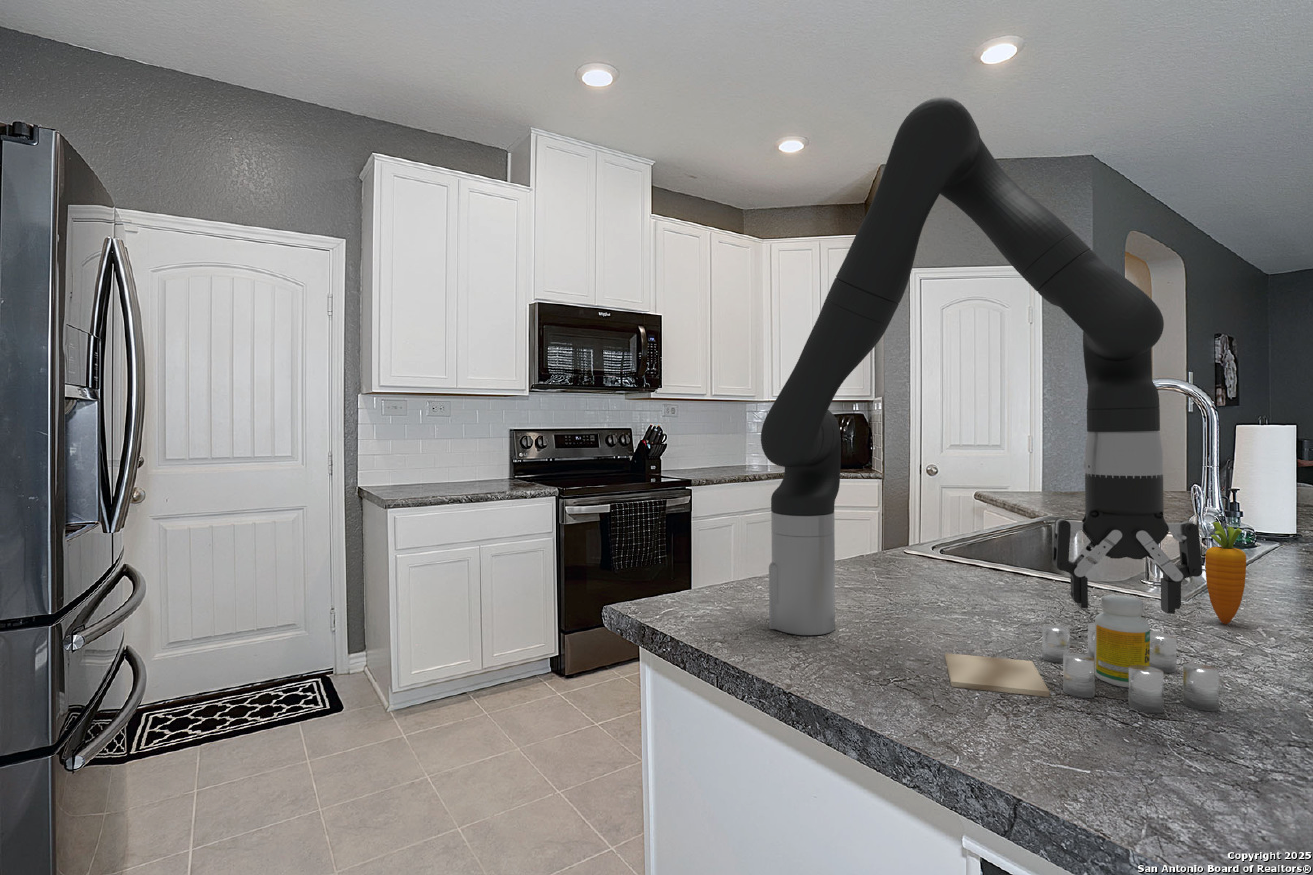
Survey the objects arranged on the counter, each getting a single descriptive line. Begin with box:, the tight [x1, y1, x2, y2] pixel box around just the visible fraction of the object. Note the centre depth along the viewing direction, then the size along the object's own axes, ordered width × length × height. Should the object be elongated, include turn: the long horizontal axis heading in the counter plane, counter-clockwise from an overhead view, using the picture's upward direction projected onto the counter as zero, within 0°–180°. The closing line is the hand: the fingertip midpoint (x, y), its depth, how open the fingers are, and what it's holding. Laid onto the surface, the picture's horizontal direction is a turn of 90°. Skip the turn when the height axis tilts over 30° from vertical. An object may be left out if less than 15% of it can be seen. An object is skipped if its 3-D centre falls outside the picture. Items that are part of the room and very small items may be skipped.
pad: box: [944, 652, 1051, 698], centre depth 81 cm, size 10×10×1 cm
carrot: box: [1204, 521, 1247, 626], centre depth 100 cm, size 5×5×15 cm
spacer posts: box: [1041, 622, 1220, 714], centre depth 80 cm, size 14×19×4 cm
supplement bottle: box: [1094, 594, 1151, 689], centre depth 80 cm, size 5×5×10 cm
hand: (1124, 609), depth 79 cm, fingers open, 8 cm apart
